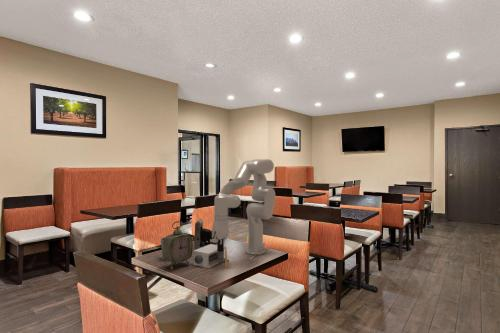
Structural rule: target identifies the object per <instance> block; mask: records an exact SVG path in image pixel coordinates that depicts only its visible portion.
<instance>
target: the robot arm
mask: <svg viewBox="0 0 500 333" xmlns="http://www.w3.org/2000/svg"><path fill="white" fill-rule="evenodd" d="M274 166H275V164H274V162H273V160H271V159H267V158H266V159H265V158H263V159H259V158H258V159H252V160H245V161H243V163H242V164H241V165H240V167H239V169H238V171H237V172H236V175H235V176H234V178H233V179H231V180H230V181H228V182H227V183H225V185H224V186H223V187H222V188H221V189H220V191H219V193H218V195H216V196H215V197H214V206H213V207H214V210H213V211H214V212H213V216H214V217H213V222H212V228H211V231H212V240H213V243H217V251H219V252H222V251H224V252H225V249H224V244H225V241H226V240H227V239H228V238H229V237H228V236H229V209H230V208H231V209H235V208H238V207H239V206H240V205H241V197H239V195H236V194H232V193H233V192H235V191H237V190H240V189H243V188H245V187H246V186H247V185H248V183H249V181H250V179H251V177H252V176H253V185H252V191H251V199H252V200H253V201H256V202H251V203H249V204H248V205H247V207H246V216H247V231H248V232H247V242H248V243H247V248H246V249H245V253H246V254H248V255H254V256H255V255H263V254H265V253H266V249H265V248H264V247H265V245H266V244H265V243H264V225H263V224H264V223H263V221H262V220H270V219H271V218H272V217H273V213H274V209H275V208H274V207H275V202H276V192H275V191H276V190H275V189H274V188H273V187H268V186H267V181H268V180H267V177H266V174H270V173H271V172H272V171H273V170H274V168H275V167H274ZM260 202H261V203H260Z"/></svg>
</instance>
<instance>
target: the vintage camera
mask: <svg viewBox="0 0 500 333" xmlns="http://www.w3.org/2000/svg"><path fill="white" fill-rule="evenodd" d="M193 240H194V244H193V251H194V250H196V249H199V248H202V247H204V246H207V245H210V244H213V245H217V242H214V241H211V240H213V239H212V229H209V228H204V221H203V220H202V219H199V220H197V221H196V222H195V224H194V239H193Z"/></svg>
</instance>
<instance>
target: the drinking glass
mask: <svg viewBox="0 0 500 333" xmlns="http://www.w3.org/2000/svg"><path fill="white" fill-rule="evenodd" d="M163 240H164V237H161V239H160V246H161V257H162V258H161V259H162V260H163V261H167V260H165V259H164V255H163ZM167 262H168V261H167Z"/></svg>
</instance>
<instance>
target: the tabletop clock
mask: <svg viewBox="0 0 500 333" xmlns="http://www.w3.org/2000/svg"><path fill="white" fill-rule="evenodd" d="M176 223H181V226H176V227H174V225H175V224H176ZM183 225H184V224H183V222H182V221H180V220H177V221H176V220H175V221H174V222H173V223H172V224H171V227H172V229H174V230H173V232H172V233H170V234H168V235H166V236H165V237H163V238H164V240H163V255H164V259H165V260H164V261H166V260H167V262H171V266H170V270H171V271H172V270H173V269H174V266H177V264H178V263H183V262H186V265H187V266H188V265H190V261H188V260H189V259H191V258H192V257H193V256H192V255H193V251H194V244H193V237H192V235H191V234H188V233H184V232H183V231H182V230H181V229H182V227H183Z"/></svg>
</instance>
